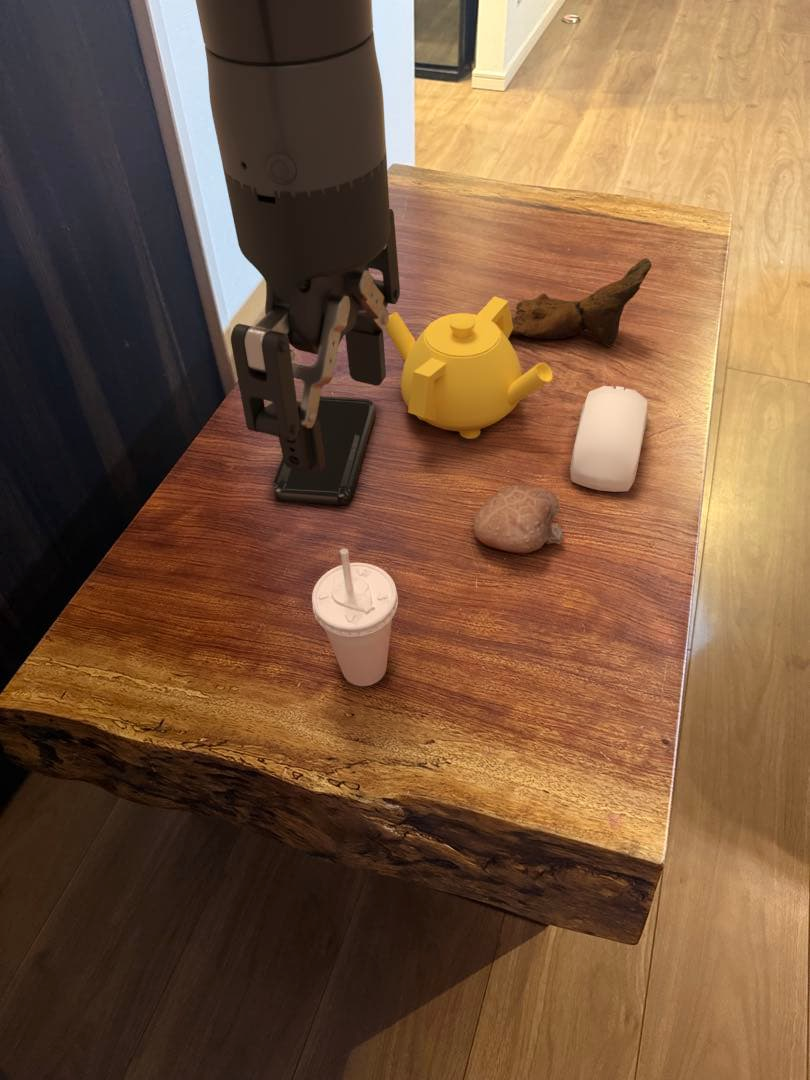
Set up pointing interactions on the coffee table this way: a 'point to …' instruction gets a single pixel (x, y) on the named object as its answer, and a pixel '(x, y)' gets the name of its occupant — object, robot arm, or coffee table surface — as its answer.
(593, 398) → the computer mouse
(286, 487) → the phone
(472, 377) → the teapot
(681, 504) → the coffee table surface
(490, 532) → the mushroom
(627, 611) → the coffee table surface
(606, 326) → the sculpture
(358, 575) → the smoothie
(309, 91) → the robot arm
